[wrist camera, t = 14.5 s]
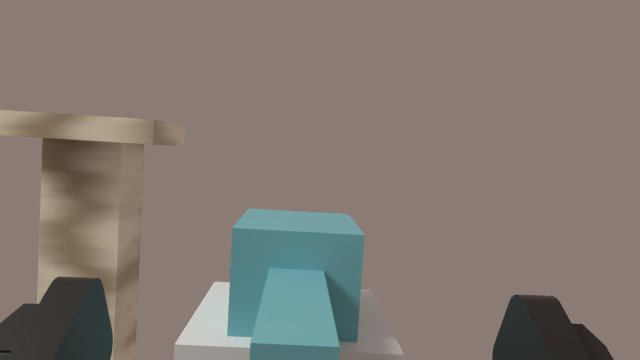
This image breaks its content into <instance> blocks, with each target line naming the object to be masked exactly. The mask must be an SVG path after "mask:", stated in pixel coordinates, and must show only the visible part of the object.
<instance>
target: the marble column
mask: <svg viewBox="0 0 640 360" xmlns="http://www.w3.org/2000/svg"><path fill="white" fill-rule="evenodd" d="M0 135H6V136H23V137H38V138H43V144H42V146H43V147H42V174H41V175H42V176H41V205H40V234H39V264H38V265H39V266H38V294H37V295H38V296H37V304H39V303H40V301H41V299H42V298H43V296H44V294H45V293H46V291H47V289H48V288H49V286H50V284H51V283H52V281H53V280H54V279H55V278H56V277H85V278H99V279H100V280H101V281H102V283H103V287H104V292H105V297H106V302H107V307H108V312H109V317H110V322H111V327H112V332H113V347H112V354H111V359H110V360H135V349H136V348H135V347H136V325H137V303H138V302H137V301H138V280H139V257H140V235H141V212H142V188H143V166H144V164H143V163H144V144H153V145H154V144H155V145H177V146H184V145H185V126H181V125H176V124H172V123H166V122H162V121H157V120H150V119H134V118H117V117H102V116H87V115H69V114H55V113H39V112H23V111H7V110H0Z"/></svg>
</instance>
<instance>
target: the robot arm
mask: <svg viewBox="0 0 640 360" xmlns="http://www.w3.org/2000/svg"><path fill="white" fill-rule="evenodd" d="M112 347H113V332H112V327H111V322H110V317H109V312H108V307H107V302H106V297H105V292H104V287H103V283H102V281H101V280H100V279H99V278H85V277H56V278H55V279H54V280H53V281H52V283H51V284H50V286H49V288H48V289H47V291H46V293H45V294H44V296H43V298H42V299H41V301H40V303H39V304H23V305H22V306H21V307H20V308H18V309H17V310H16V311H15V312H13V313H12V314H11V315H10V316H9V317H7V318H6V319H5V320H4V321H3V322H1V323H0V360H110V359H111V354H112ZM492 358H493V359H492V360H613V358H612V356H611V355H610V353H609V351H608V350H607V348H606V346H605V345H604V344H603V343H602V342H601V341H600V340H599V339H598V338H596V337H595V336H594V335H593V334H592V333H591V332H590V331H589V330H588V329H587V328H586V327H585V326H584V325H583V324H571V322H570V320H569V318H568V316H567V314H566V313H565V311H564V309H563V307H562V305H561V304H560V302H559V301H558V299H557V298H555V297H554V296H537V295H514V296H513V297H512V298H511V299H510V302H509V304H508V307H507V310H506V313H505V316H504V319H503V321H502V324H501V328H500V330H499V333H498V336H497V338H496V341H495V344H494V348H493V357H492Z"/></svg>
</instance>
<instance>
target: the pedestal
mask: <svg viewBox="0 0 640 360" xmlns="http://www.w3.org/2000/svg"><path fill="white" fill-rule="evenodd" d="M229 289H230V283H227V282H214V284H213V285H212V287H211V288H210V290H209V291H208V293H207V295H206V296H205V298H204V299H203V301H202V302H201V304H200V305H199V307H198V309H197V310H196V312H195V313H194V315H193V317H192V318H191V320H190V321H189V323H188V324H187V326H186V327H185V329H184V331H183V332H182V334H181V335H180V337H179V339H178V340H177V341H176V343H175V347H174V360H250V343H251V339H252V337H234V336H227V327H228V308H229ZM339 345H340V352H339V360H404V354H403V352H402V350H401V348H400V346H399V344H398V342H397V340H396V338H395V336H394V335H393V333H392V331H391V329H390V327H389V325H388V323H387V321H386V319H385V317H384V315H383V313H382V311H381V309H380V307H379V305H378V304H377V302H376V300H375V298H374V296H373V294H372V292H371V290H365V289H361V294H360V309H359V324H358V339H357V342H343V341H339Z"/></svg>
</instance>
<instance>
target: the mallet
mask: <svg viewBox="0 0 640 360" xmlns="http://www.w3.org/2000/svg"><path fill="white" fill-rule="evenodd" d="M363 247H364V234H363V233H362V231H361V230H360V229H359V228H358V226H357V225H356V224H355V222H354V221H353V220H352V219H351V217H350V216H349V215H348V214H334V213H316V212H299V211H280V210H262V209H249V210H248V211H247V212H246V213H245V214H244V215H243V216H242V218H241V219H240V220H239V221H238V222H237V224H236V225H235V226H234V227H233V232H232V252H231V270H230V289H229V308H228V327H227V336H234V337H252V339H251V343H250V360H339V352H340V345H339V341H343V342H357V339H358V324H359V309H360V294H361V277H362V261H363Z"/></svg>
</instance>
